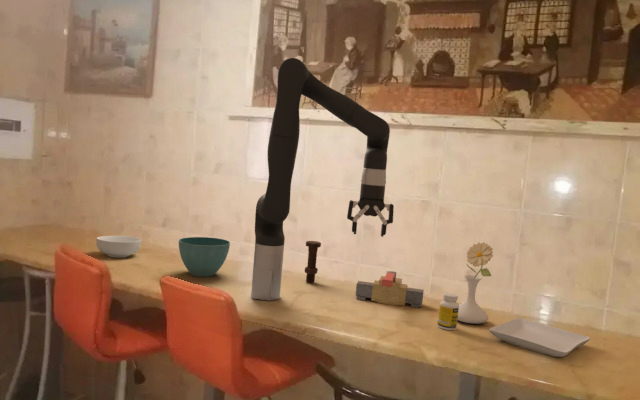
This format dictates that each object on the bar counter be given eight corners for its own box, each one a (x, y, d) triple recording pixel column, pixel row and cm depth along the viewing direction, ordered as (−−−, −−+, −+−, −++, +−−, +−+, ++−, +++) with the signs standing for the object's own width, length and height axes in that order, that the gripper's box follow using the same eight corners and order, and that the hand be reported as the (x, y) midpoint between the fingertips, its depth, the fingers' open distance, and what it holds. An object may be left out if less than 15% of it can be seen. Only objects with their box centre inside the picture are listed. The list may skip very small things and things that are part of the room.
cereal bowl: (149, 257, 226) (150, 239, 225) (114, 262, 212) (115, 243, 211) (121, 250, 235) (122, 233, 234) (86, 254, 221) (87, 236, 220)
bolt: (315, 284, 202) (318, 243, 201) (301, 283, 203) (305, 242, 202) (318, 281, 208) (321, 241, 207) (305, 279, 209) (308, 240, 208)
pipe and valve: (421, 308, 182) (423, 286, 181) (354, 299, 186) (356, 277, 186) (422, 303, 189) (424, 281, 188) (357, 294, 193) (359, 273, 193)
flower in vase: (442, 316, 175) (450, 237, 173) (471, 315, 180) (480, 237, 178) (468, 329, 163) (477, 244, 161) (499, 327, 168) (508, 245, 166)
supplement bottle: (452, 332, 159) (456, 298, 159) (434, 327, 162) (438, 294, 161) (458, 327, 164) (462, 295, 163) (441, 323, 167) (444, 291, 166)
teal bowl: (191, 282, 191) (194, 246, 190) (167, 270, 205) (169, 237, 204) (237, 277, 203) (239, 244, 202) (211, 267, 217) (213, 236, 216)
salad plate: (590, 347, 157) (592, 335, 157) (565, 364, 141) (566, 351, 141) (516, 327, 171) (518, 316, 171) (485, 341, 155) (487, 328, 155)
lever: (391, 288, 172) (392, 280, 172) (381, 287, 173) (382, 279, 173) (396, 278, 188) (396, 271, 188) (386, 277, 189) (387, 269, 189)
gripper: (394, 185, 178) (389, 235, 179) (350, 181, 178) (345, 231, 180) (397, 186, 171) (392, 239, 172) (350, 182, 171) (345, 234, 172)
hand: (368, 235), depth 176 cm, fingers open, 8 cm apart
